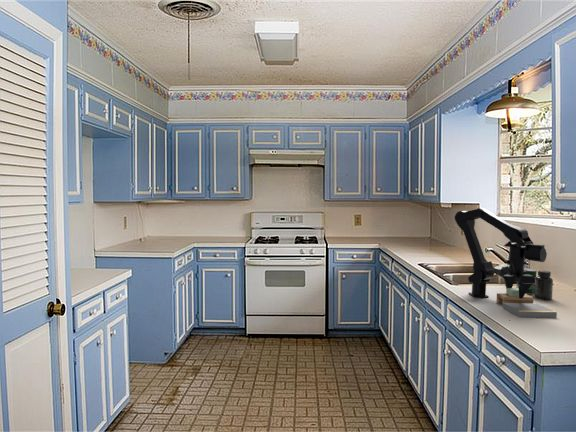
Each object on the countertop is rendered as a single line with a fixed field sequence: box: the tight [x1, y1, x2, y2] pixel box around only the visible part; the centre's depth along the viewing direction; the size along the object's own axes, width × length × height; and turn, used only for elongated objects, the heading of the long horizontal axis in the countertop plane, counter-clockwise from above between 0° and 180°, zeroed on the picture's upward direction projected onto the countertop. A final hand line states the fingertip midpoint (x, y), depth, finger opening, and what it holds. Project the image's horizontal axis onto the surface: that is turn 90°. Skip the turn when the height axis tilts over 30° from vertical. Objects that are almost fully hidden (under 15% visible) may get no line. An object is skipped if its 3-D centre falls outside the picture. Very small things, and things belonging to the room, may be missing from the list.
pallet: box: [496, 292, 534, 306], centre depth 177 cm, size 6×12×4 cm, turn 91°
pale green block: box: [505, 287, 519, 296], centre depth 177 cm, size 4×5×2 cm
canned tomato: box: [515, 267, 538, 295], centre depth 198 cm, size 8×8×11 cm
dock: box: [502, 302, 558, 319], centre depth 165 cm, size 12×14×2 cm
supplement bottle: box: [534, 270, 554, 301], centre depth 188 cm, size 7×7×12 cm
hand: (514, 295), depth 177 cm, fingers open, 9 cm apart
